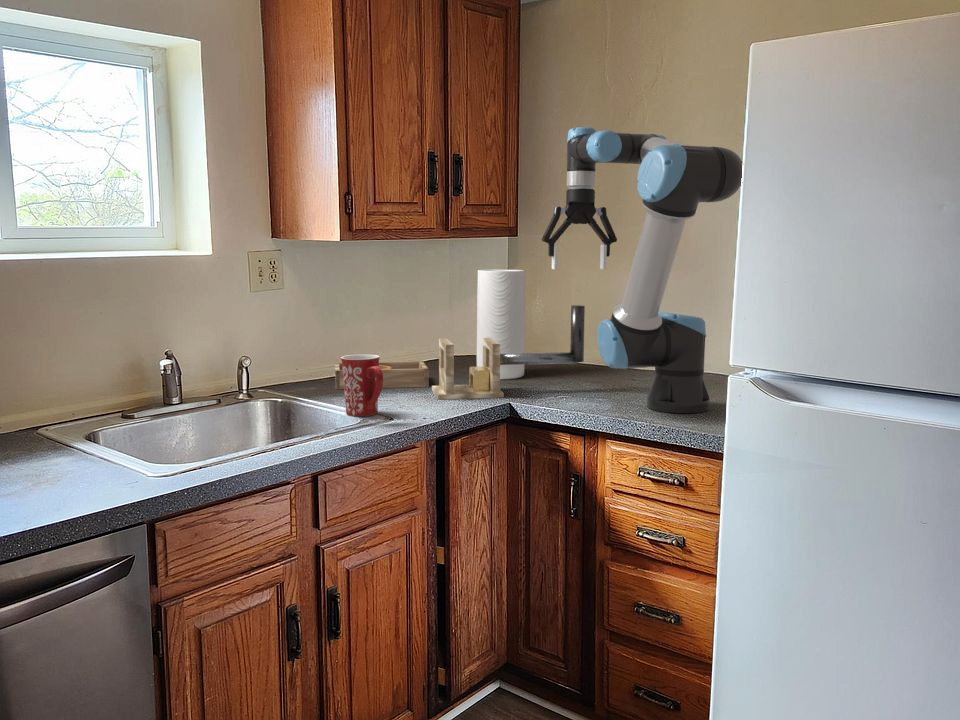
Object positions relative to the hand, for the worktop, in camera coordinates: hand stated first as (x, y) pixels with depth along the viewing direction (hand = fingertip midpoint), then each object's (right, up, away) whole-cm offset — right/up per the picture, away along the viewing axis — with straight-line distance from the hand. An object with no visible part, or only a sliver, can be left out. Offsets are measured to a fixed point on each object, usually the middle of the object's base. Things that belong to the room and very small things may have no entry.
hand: (578, 269), depth 226 cm
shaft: (-11, -25, -1) cm, 28 cm away
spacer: (-27, -32, -3) cm, 42 cm away
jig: (-29, -33, -3) cm, 44 cm away
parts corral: (-55, -31, +13) cm, 64 cm away
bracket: (-57, -33, +20) cm, 69 cm away
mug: (-53, -37, -30) cm, 72 cm away
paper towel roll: (-20, -29, +26) cm, 44 cm away
